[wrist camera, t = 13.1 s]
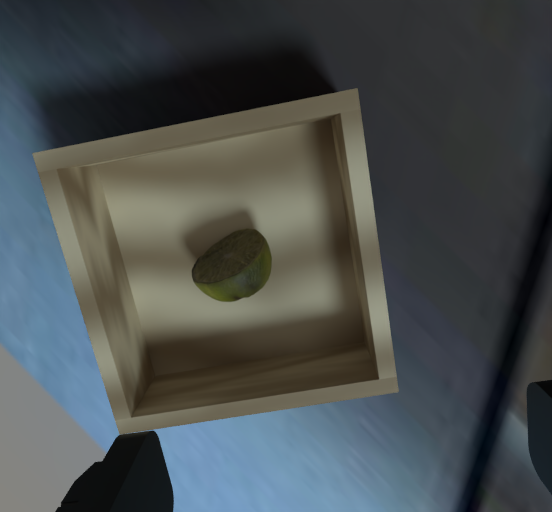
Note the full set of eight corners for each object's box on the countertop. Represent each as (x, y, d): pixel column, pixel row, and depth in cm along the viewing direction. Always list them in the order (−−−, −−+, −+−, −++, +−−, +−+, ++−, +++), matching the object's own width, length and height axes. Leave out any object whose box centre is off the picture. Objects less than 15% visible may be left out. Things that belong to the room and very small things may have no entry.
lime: (192, 270, 29) (174, 295, 25) (224, 207, 28) (212, 219, 24) (251, 300, 30) (244, 330, 25) (285, 239, 29) (285, 258, 24)
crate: (83, 152, 29) (32, 153, 23) (342, 100, 28) (357, 88, 22) (149, 383, 33) (119, 434, 27) (378, 346, 32) (398, 392, 26)
